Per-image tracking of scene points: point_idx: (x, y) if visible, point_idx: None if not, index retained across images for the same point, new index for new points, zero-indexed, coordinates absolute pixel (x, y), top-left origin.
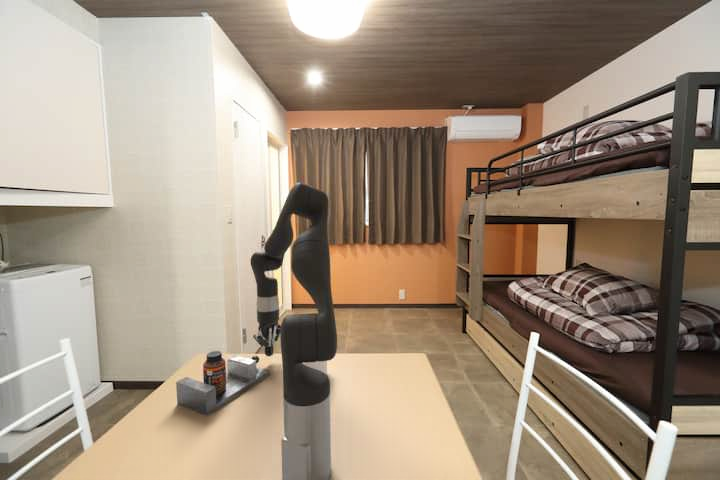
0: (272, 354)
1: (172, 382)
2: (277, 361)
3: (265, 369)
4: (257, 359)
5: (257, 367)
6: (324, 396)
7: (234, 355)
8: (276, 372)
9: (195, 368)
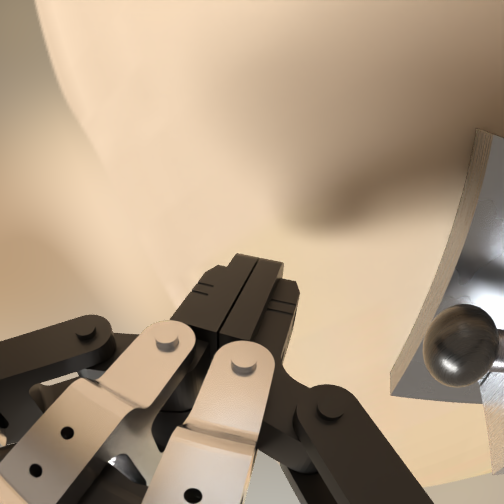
0: (246, 255)
1: None
2: (230, 191)
3: (484, 186)
4: (488, 326)
5: (456, 278)
6: None
7: (499, 473)
8: (422, 86)
9: None
